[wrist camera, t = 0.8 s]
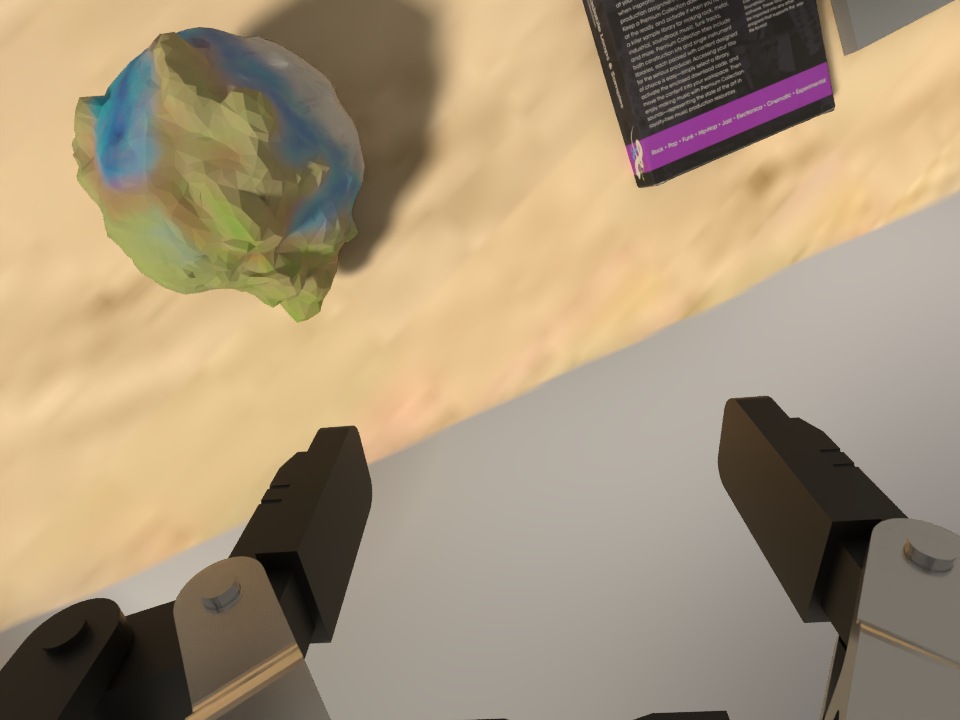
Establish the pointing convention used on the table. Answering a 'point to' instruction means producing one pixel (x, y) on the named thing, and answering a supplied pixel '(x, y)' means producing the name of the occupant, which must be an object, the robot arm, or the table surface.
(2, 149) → the table surface
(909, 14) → the shelf board
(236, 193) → the decorative rock
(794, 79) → the box
